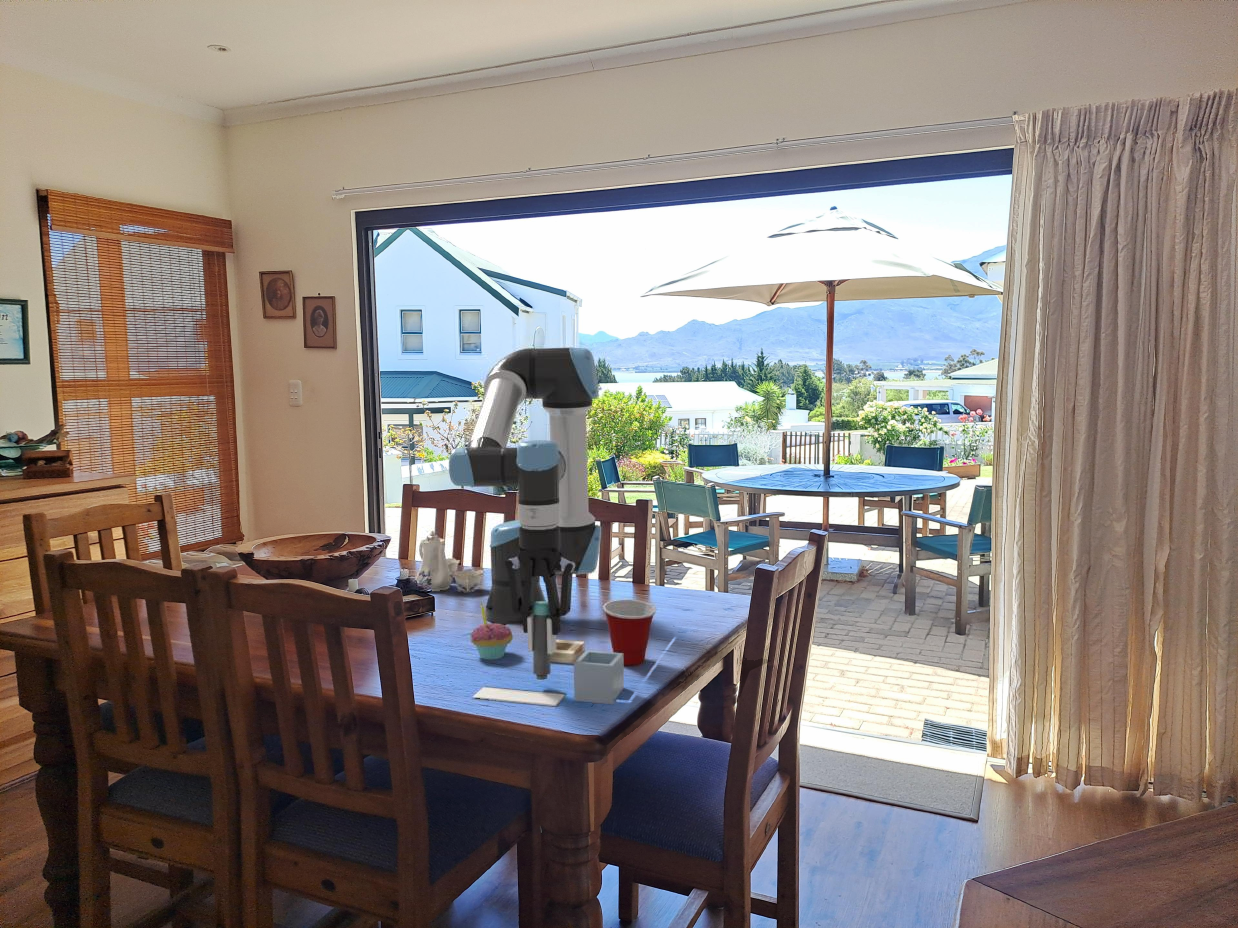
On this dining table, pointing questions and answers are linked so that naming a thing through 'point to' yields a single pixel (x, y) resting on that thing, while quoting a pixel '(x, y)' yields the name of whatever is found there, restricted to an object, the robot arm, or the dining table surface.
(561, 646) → the marker stand
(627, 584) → the dining table surface
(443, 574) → the chinaware
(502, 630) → the cupcake
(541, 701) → the paper
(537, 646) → the marker
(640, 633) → the plastic cup
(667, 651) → the dining table surface
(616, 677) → the pen pot
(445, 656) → the dining table surface
